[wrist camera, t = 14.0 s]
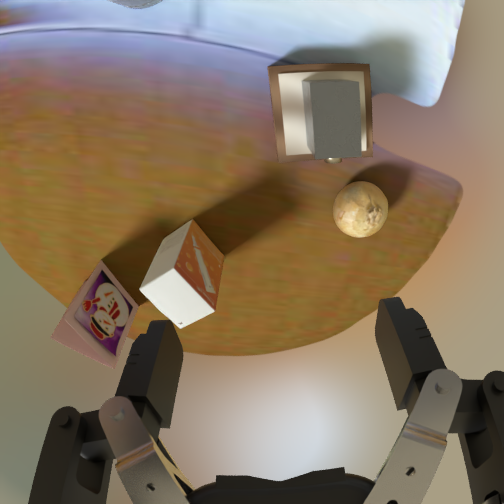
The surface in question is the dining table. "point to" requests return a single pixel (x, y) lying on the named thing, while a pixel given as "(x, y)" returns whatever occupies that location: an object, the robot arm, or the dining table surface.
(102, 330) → the greeting card
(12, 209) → the dining table surface
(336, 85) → the block
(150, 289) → the small box
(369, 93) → the stand
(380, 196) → the onion
